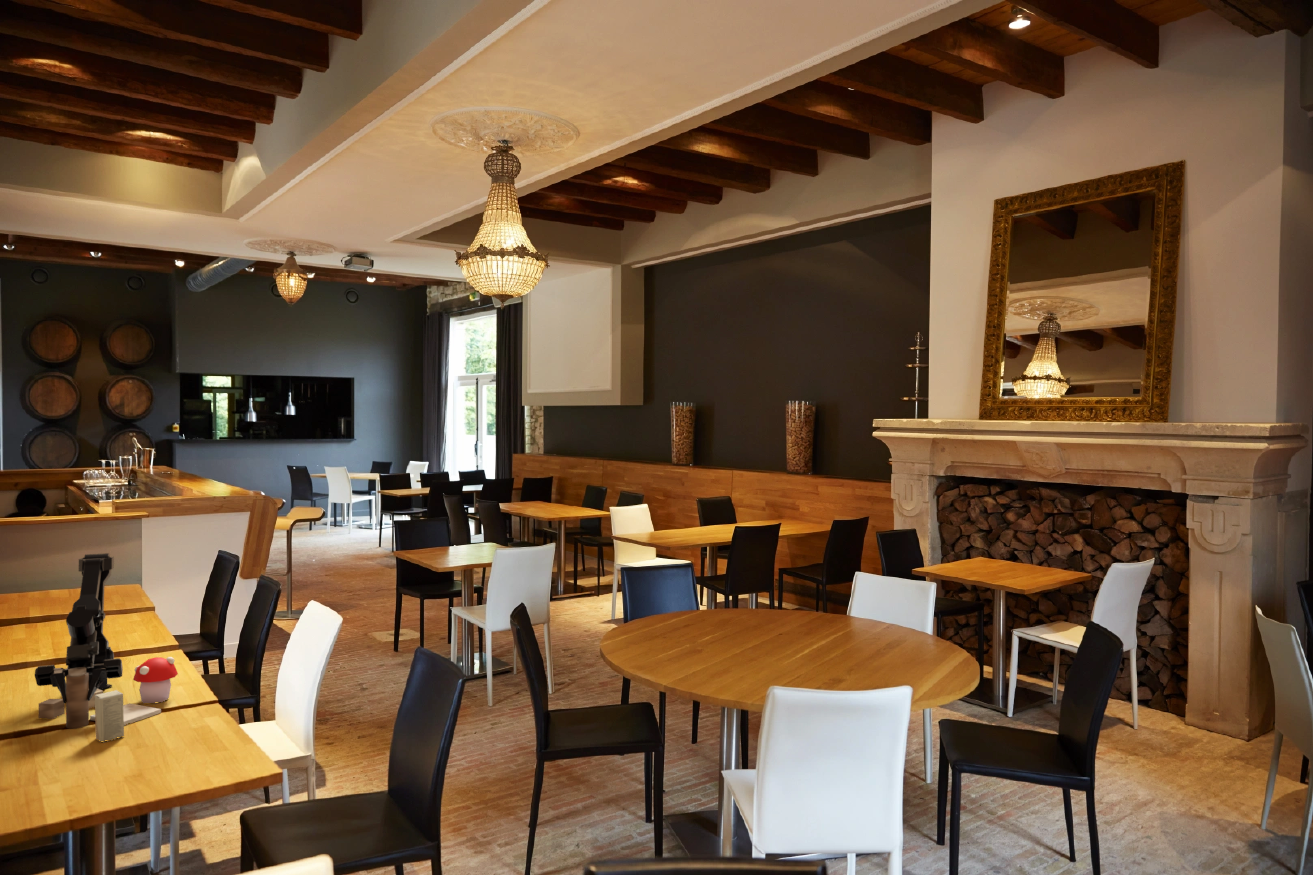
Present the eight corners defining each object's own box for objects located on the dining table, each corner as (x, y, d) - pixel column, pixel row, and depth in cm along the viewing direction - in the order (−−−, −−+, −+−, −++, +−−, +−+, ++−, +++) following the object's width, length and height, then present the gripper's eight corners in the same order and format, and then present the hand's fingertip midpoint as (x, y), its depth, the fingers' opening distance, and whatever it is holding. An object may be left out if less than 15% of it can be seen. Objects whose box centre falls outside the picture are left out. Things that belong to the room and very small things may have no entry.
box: (118, 733, 215) (118, 689, 214) (124, 737, 212) (124, 692, 212) (94, 739, 211) (94, 694, 210) (100, 743, 208) (100, 698, 208)
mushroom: (127, 707, 234) (127, 663, 234) (139, 695, 244) (140, 653, 244) (170, 704, 237) (170, 661, 236) (181, 692, 247) (181, 651, 247)
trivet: (90, 719, 224) (90, 715, 224) (129, 706, 234) (129, 703, 234) (122, 726, 220) (122, 722, 220) (160, 712, 230) (160, 709, 230)
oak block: (79, 705, 235) (79, 690, 235) (95, 701, 239) (95, 687, 239) (86, 709, 232) (86, 694, 232) (103, 705, 236) (103, 690, 236)
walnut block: (38, 718, 225) (38, 703, 225) (49, 713, 229) (49, 698, 229) (53, 718, 225) (53, 703, 224) (64, 713, 229) (64, 698, 228)
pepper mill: (61, 726, 219) (61, 670, 218) (80, 720, 223) (80, 665, 223) (74, 729, 217) (74, 672, 217) (93, 723, 221) (92, 667, 221)
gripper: (35, 635, 219) (27, 690, 209) (121, 627, 227) (117, 680, 218) (41, 658, 226) (33, 712, 216) (124, 650, 234) (120, 702, 225)
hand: (76, 701), depth 219 cm, fingers closed on pepper mill, 5 cm apart
